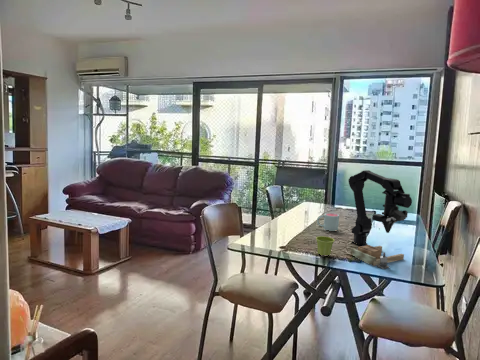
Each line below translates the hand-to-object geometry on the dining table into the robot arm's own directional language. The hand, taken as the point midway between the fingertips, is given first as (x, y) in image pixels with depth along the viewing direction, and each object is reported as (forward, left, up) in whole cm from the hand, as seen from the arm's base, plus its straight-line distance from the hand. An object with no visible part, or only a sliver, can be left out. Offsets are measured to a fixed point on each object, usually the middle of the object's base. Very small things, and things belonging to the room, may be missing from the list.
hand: (387, 232), depth 191 cm
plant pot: (-13, -31, -12) cm, 36 cm away
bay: (+1, -8, -12) cm, 15 cm away
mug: (-49, +4, -12) cm, 50 cm away
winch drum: (+12, -16, -12) cm, 23 cm away
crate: (+1, -14, -12) cm, 18 cm away
